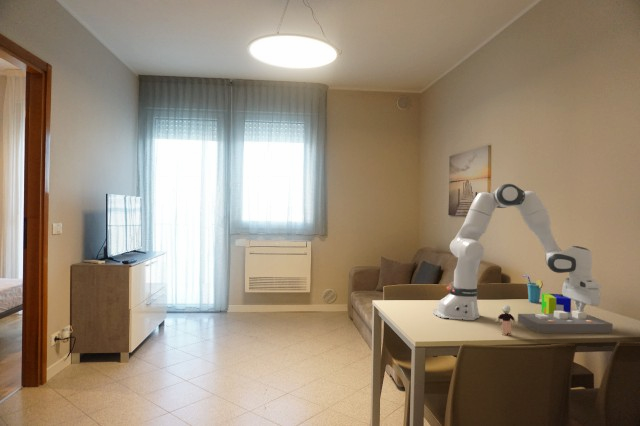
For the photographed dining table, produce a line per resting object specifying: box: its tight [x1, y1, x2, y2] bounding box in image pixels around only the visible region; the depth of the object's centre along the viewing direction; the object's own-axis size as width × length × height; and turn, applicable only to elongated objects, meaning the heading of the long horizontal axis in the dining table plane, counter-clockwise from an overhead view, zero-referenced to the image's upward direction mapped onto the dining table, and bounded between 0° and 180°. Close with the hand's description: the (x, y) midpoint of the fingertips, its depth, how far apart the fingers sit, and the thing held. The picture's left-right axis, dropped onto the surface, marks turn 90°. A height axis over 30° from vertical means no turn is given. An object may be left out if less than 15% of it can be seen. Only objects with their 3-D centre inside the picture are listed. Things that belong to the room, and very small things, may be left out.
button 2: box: [571, 310, 587, 319], centre depth 183 cm, size 4×4×3 cm
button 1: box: [534, 313, 549, 319], centre depth 182 cm, size 4×4×3 cm
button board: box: [517, 313, 614, 334], centre depth 181 cm, size 34×16×4 cm, turn 93°
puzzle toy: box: [541, 292, 572, 314], centre depth 201 cm, size 10×10×10 cm
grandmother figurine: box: [495, 304, 517, 336], centre depth 169 cm, size 8×4×13 cm, turn 92°
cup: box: [522, 274, 544, 304], centre depth 229 cm, size 14×8×15 cm, turn 24°
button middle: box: [554, 311, 568, 319], centre depth 183 cm, size 4×4×3 cm
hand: (579, 310), depth 183 cm, fingers closed
